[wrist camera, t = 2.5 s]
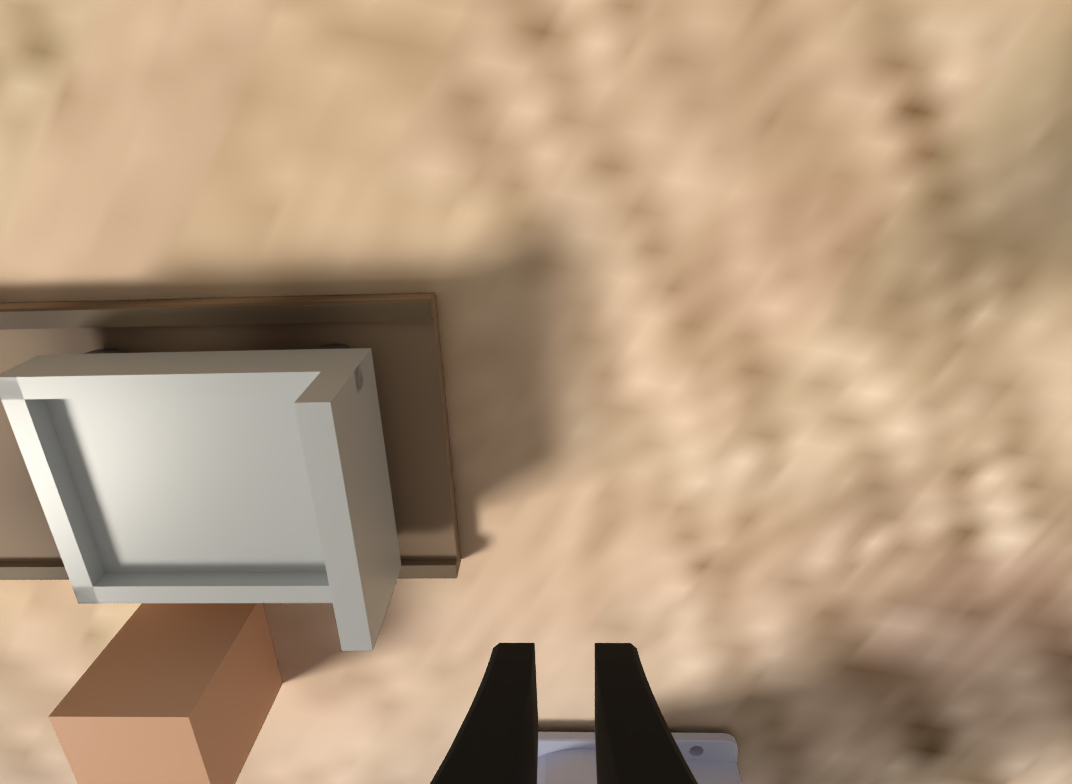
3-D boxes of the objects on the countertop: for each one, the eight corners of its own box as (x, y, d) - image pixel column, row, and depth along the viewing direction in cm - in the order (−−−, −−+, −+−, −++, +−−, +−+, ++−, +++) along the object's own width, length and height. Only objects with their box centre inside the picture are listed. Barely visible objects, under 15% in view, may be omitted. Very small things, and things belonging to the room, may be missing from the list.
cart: (380, 335, 19) (330, 402, 15) (408, 546, 22) (372, 650, 18) (63, 342, 19) (-70, 408, 15) (130, 548, 22) (34, 650, 18)
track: (435, 292, 19) (416, 322, 16) (460, 560, 22) (448, 616, 20) (-283, 309, 20) (-399, 339, 17) (-149, 563, 23) (-229, 616, 21)
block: (261, 595, 23) (188, 716, 19) (282, 682, 25) (220, 814, 20) (147, 595, 24) (48, 716, 19) (176, 682, 25) (90, 812, 21)
